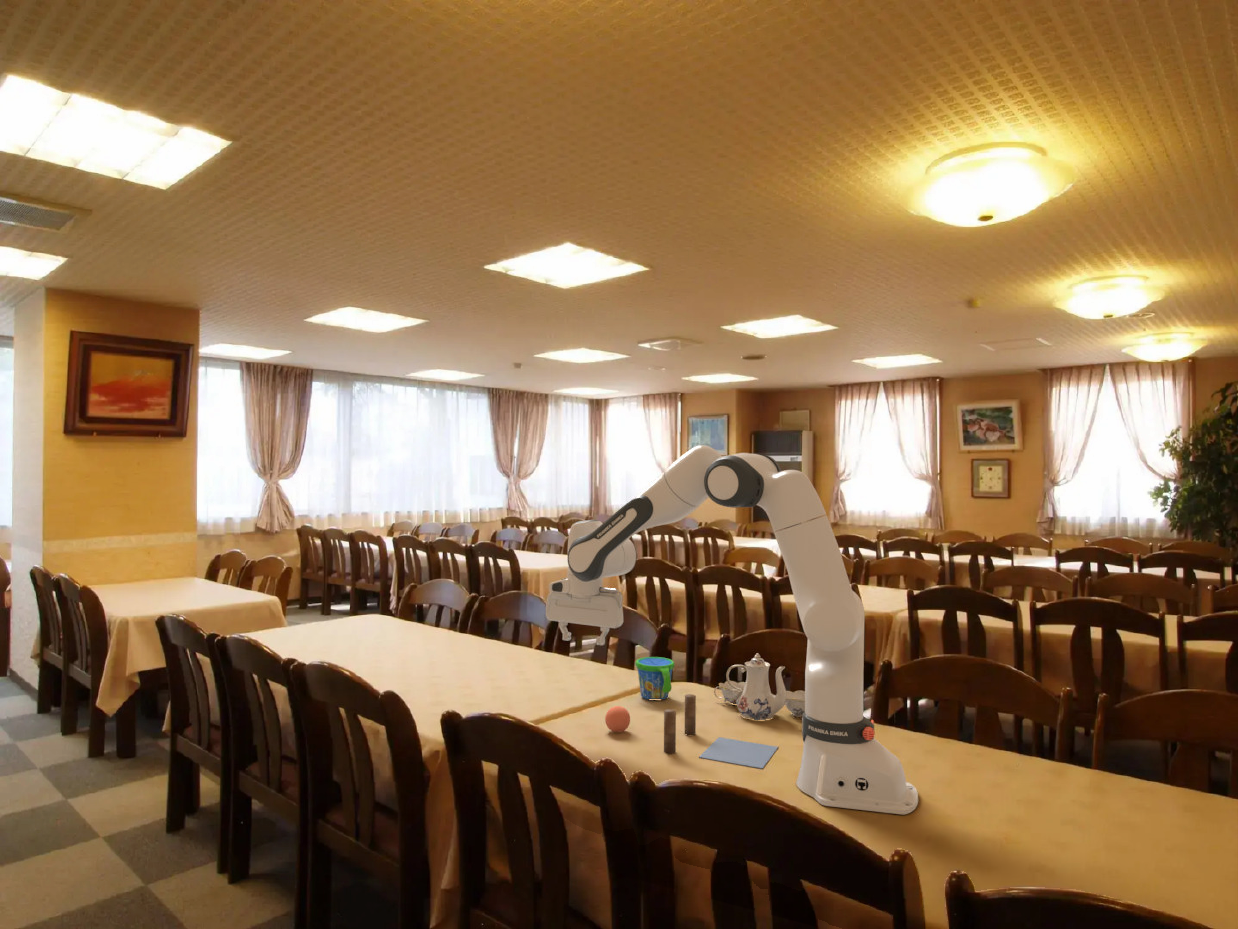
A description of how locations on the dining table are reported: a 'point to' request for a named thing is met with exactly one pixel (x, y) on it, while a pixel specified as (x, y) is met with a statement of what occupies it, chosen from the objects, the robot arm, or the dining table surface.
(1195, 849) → the dining table surface
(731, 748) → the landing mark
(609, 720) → the ball
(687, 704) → the post
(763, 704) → the chinaware
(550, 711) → the dining table surface
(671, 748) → the post
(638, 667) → the snack cup
